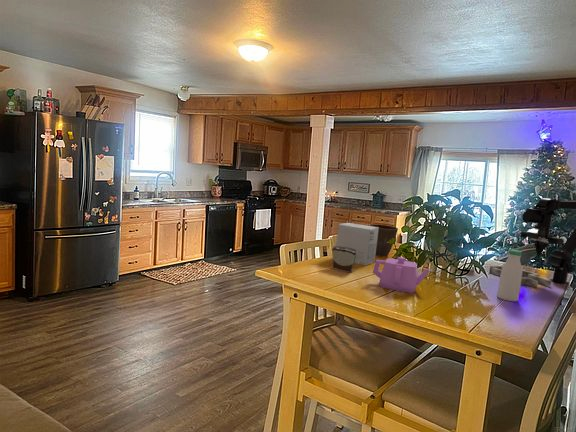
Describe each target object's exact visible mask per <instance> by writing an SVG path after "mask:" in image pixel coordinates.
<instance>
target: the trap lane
mask: <svg viewBox="0 0 576 432" xmlns="http://www.w3.org/2000/svg"><path fill="white" fill-rule="evenodd" d="M502 267H503V265H490V266H489V274H493V275H496V276H498V277H500V275H501V270H502ZM522 271H523V272H522V281H521V286H522V285H525V286H530V287H532V288H538V285H541V286H545V287H549V288H550V287H551V285H552V281H551V280H550V279H548V278H544V277H540V275H539V274H538V273H535V272H531V271H528V270H525V269H522Z"/></svg>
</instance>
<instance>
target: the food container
mask: <svg viewBox="0 0 576 432" xmlns="http://www.w3.org/2000/svg"><path fill="white" fill-rule="evenodd" d="M331 251H332V269H334V270H338V271H342V272H345V273H350V274H351V273H353V270H354V266H355V263H354V262H355V258H356V256H358V253H357V250H356V249H354V248H350V247H343V246H336V245H334V246H332V247H331Z"/></svg>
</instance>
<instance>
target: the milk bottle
mask: <svg viewBox="0 0 576 432" xmlns="http://www.w3.org/2000/svg"><path fill="white" fill-rule="evenodd" d="M522 254H523V252H522V251H521V250H517V249H509V250H508V257H507V259H506V261H505V262H504V263H505V264H504V265H503V264H502V266H503V267H502V270H501V275H500V276H499V280H498V285H497V287H498V288H497V292H496V293H497V294H496V296H497V298H499V299H501V300H504V301H508V302H518V300H519V296H520V293H521V292H520V290H521V286H522V285H521V281H522V272H523V271H522V270H523V267H522V263H521V257H522Z"/></svg>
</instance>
